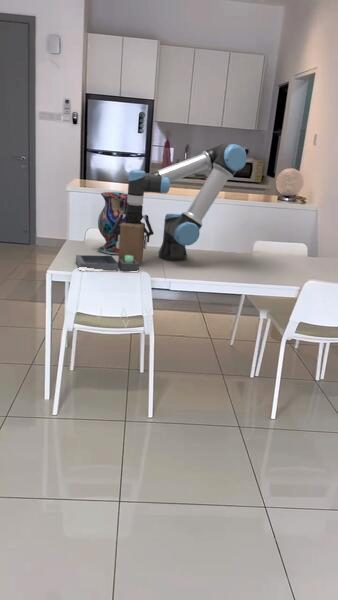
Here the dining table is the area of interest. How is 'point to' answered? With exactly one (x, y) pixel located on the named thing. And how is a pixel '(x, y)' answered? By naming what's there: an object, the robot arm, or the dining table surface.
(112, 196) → the vase
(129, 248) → the wooden block
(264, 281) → the dining table surface
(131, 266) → the dark grey square block
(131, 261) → the plunger
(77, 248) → the dining table surface
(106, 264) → the dark grey tray
